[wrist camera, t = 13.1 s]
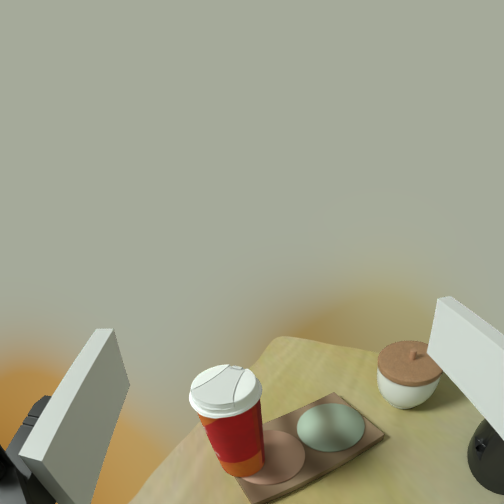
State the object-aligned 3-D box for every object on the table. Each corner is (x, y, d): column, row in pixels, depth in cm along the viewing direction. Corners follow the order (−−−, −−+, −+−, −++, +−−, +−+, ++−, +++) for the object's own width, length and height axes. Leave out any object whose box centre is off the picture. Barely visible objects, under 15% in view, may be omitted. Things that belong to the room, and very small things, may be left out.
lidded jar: (413, 370, 50) (421, 325, 47) (445, 404, 40) (460, 358, 37) (361, 386, 48) (367, 341, 46) (390, 428, 38) (402, 381, 36)
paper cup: (232, 434, 40) (212, 356, 36) (283, 448, 36) (273, 368, 32) (201, 472, 33) (170, 396, 29) (256, 492, 30) (236, 417, 26)
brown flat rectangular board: (333, 397, 47) (334, 390, 47) (383, 439, 37) (384, 432, 36) (217, 446, 39) (215, 439, 39) (254, 507, 29) (252, 502, 28)
